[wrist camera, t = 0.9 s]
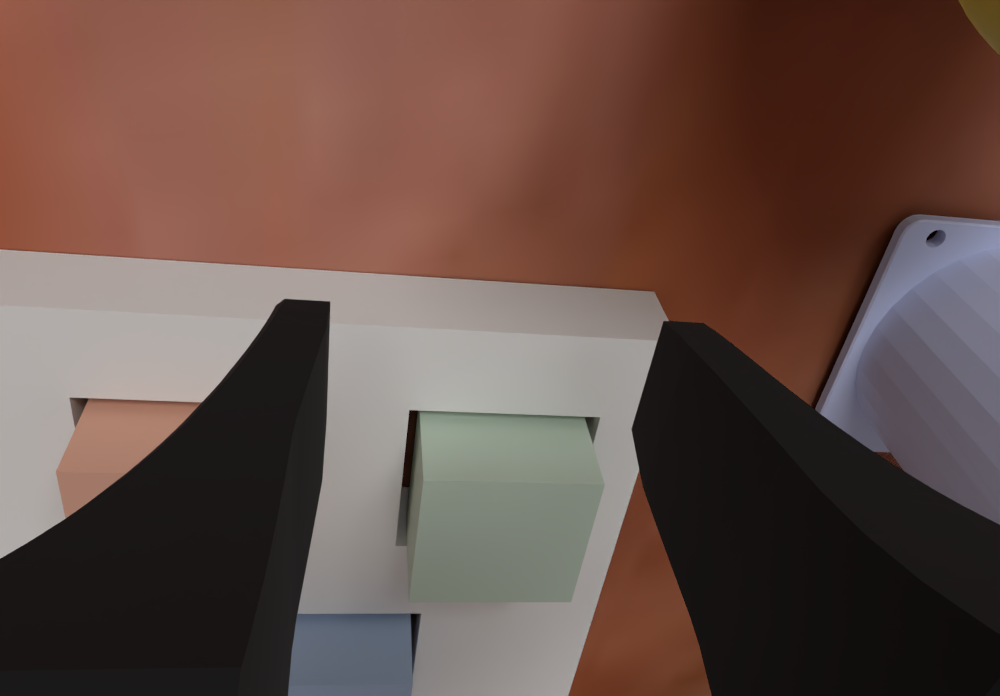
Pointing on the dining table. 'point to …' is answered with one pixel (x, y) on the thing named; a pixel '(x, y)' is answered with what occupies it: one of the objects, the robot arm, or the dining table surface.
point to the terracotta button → (113, 444)
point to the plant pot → (985, 19)
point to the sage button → (499, 506)
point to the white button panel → (341, 417)
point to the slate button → (351, 655)
